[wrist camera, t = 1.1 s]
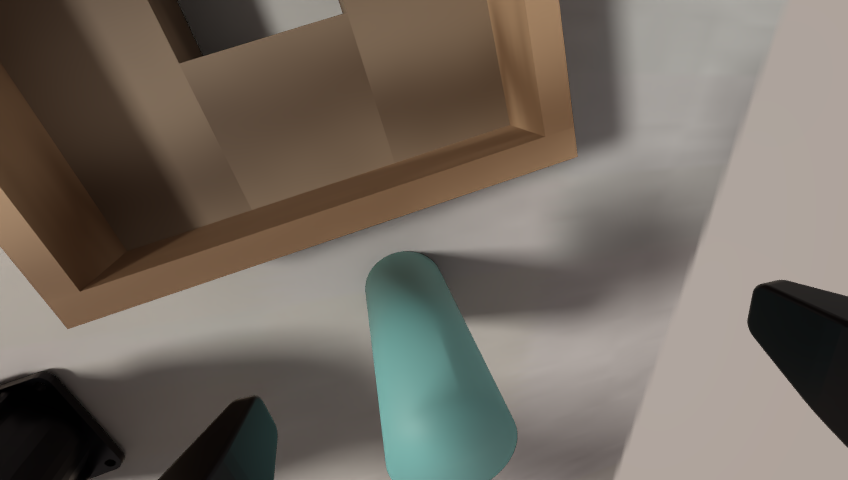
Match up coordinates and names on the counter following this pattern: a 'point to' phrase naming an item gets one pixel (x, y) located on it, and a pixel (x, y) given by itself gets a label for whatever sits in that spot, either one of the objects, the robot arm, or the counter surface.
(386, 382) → the peg
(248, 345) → the counter surface
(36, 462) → the robot arm
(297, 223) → the box
